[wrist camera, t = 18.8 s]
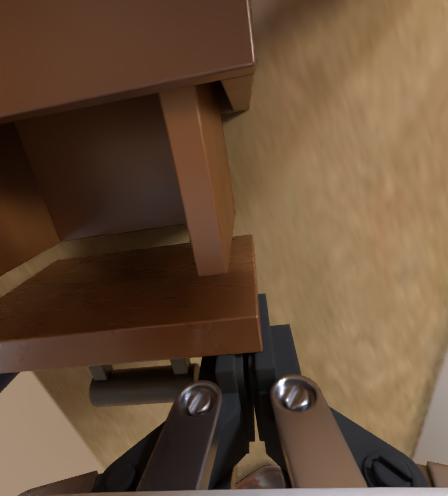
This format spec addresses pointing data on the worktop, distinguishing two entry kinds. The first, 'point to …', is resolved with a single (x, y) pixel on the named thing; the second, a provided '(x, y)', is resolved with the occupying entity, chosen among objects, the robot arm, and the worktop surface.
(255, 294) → the drawer
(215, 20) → the cabinet
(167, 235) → the worktop surface
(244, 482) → the tin
